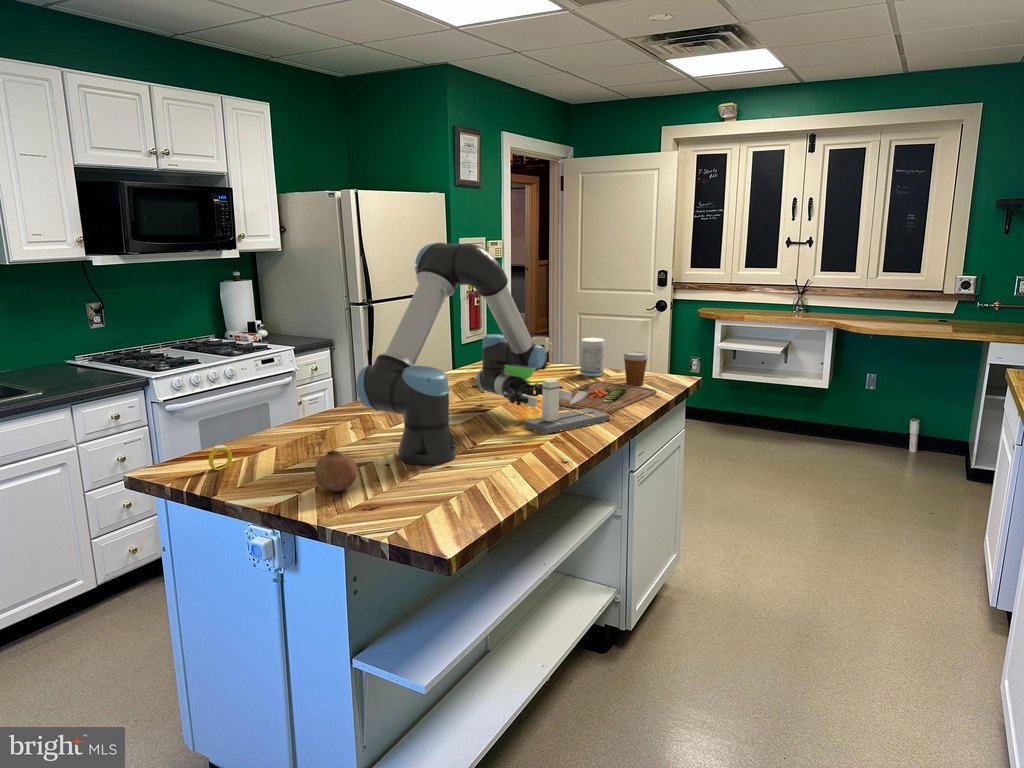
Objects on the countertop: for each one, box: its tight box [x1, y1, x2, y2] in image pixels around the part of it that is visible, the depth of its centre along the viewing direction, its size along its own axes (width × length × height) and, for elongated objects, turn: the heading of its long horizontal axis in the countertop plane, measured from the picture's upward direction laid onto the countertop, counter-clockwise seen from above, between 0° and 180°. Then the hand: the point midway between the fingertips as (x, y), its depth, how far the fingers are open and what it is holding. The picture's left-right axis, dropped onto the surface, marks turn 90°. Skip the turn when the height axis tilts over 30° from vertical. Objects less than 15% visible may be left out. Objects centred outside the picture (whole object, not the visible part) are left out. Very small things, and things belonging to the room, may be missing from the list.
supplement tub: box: [580, 337, 605, 378], centre depth 291 cm, size 10×10×15 cm
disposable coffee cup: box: [622, 350, 649, 386], centre depth 275 cm, size 10×10×12 cm
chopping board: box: [559, 381, 658, 414], centre depth 254 cm, size 45×27×3 cm, turn 145°
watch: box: [208, 444, 233, 471], centre depth 177 cm, size 6×3×6 cm, turn 150°
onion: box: [314, 449, 359, 493], centre depth 162 cm, size 10×9×10 cm
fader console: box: [523, 408, 610, 435], centre depth 220 cm, size 26×10×2 cm, turn 127°
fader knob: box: [541, 378, 560, 422], centre depth 214 cm, size 4×3×12 cm
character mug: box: [531, 336, 554, 369], centre depth 305 cm, size 11×7×13 cm, turn 71°
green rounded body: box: [505, 365, 537, 381], centre depth 279 cm, size 18×17×15 cm
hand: (553, 399), depth 213 cm, fingers open, 13 cm apart
